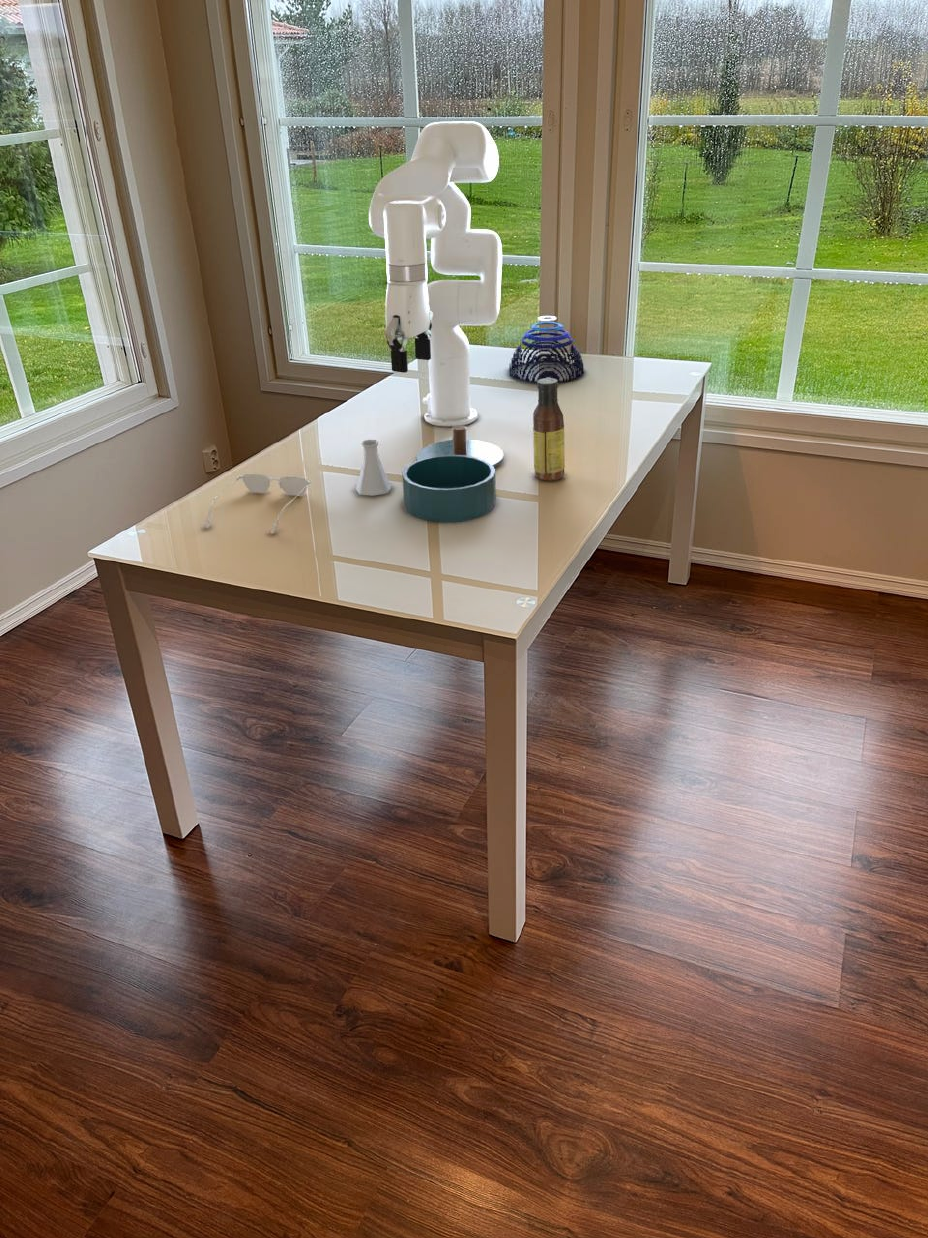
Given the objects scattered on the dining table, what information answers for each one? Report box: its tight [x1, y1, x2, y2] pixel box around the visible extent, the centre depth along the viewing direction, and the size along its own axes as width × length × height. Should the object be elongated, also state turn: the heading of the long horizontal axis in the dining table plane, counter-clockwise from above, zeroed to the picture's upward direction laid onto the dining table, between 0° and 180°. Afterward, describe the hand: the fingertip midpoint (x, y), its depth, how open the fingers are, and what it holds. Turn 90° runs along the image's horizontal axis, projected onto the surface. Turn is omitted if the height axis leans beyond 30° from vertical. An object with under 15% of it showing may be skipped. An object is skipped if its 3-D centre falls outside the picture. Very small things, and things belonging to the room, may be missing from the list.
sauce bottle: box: [532, 377, 566, 482], centre depth 189 cm, size 7×6×20 cm
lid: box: [416, 425, 505, 468], centre depth 201 cm, size 19×19×7 cm
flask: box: [355, 439, 392, 497], centre depth 188 cm, size 7×7×10 cm
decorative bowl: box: [508, 315, 585, 384], centre depth 253 cm, size 20×20×14 cm
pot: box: [401, 455, 497, 523], centre depth 182 cm, size 18×18×6 cm
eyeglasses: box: [205, 472, 312, 534], centre depth 182 cm, size 15×18×4 cm
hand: (411, 365), depth 185 cm, fingers open, 9 cm apart
